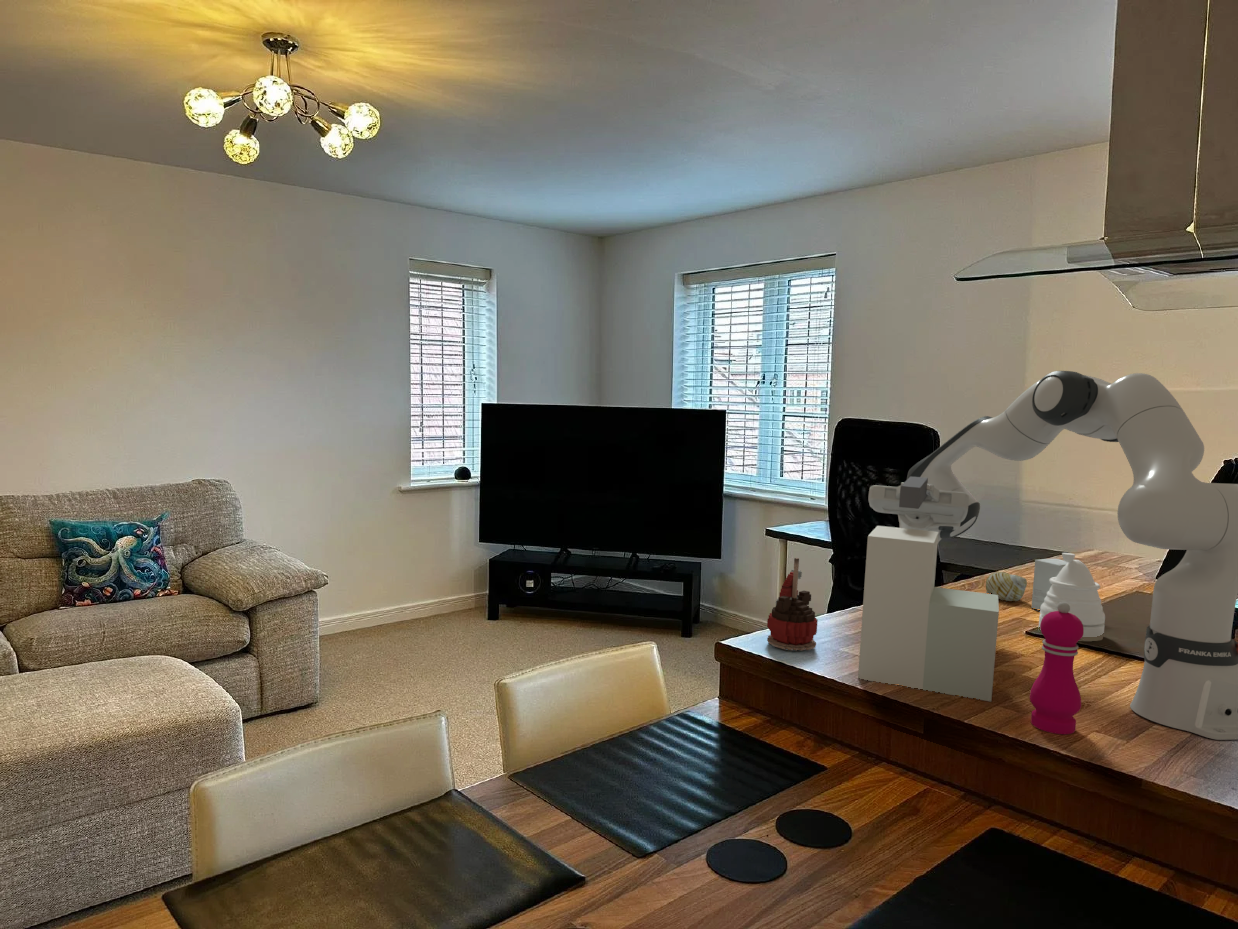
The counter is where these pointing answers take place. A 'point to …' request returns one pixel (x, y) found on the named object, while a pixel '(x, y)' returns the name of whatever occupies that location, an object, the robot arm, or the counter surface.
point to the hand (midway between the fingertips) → (916, 486)
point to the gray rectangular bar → (913, 492)
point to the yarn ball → (1006, 586)
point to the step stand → (923, 620)
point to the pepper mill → (1057, 673)
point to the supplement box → (1044, 578)
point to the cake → (792, 616)
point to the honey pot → (1076, 596)
